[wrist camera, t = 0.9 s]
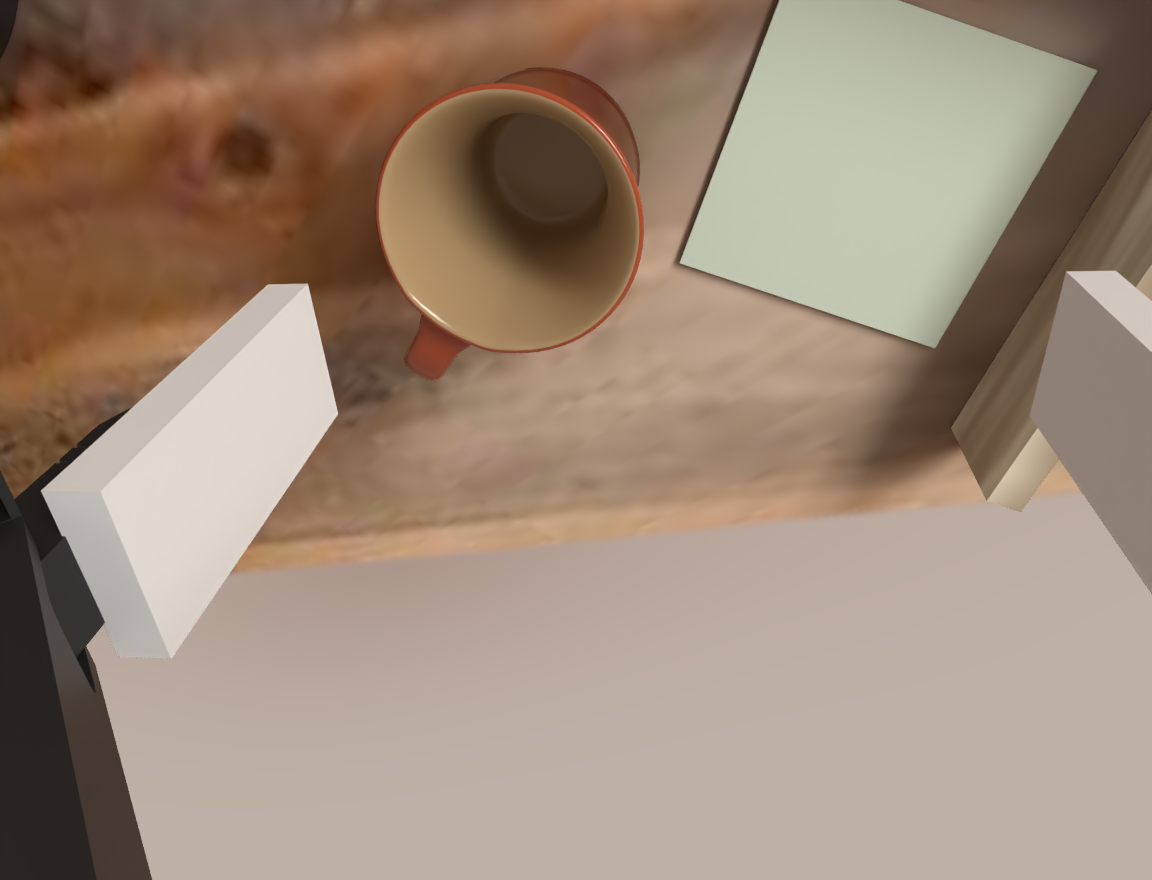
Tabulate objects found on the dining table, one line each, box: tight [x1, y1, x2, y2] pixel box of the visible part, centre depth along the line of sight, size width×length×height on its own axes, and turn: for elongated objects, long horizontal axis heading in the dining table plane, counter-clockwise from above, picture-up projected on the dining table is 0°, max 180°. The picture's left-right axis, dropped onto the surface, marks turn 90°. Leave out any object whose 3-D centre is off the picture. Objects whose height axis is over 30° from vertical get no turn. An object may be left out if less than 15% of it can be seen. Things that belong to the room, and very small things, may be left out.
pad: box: [680, 0, 1098, 348], centre depth 35 cm, size 12×12×1 cm
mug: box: [376, 68, 644, 381], centre depth 33 cm, size 12×9×10 cm
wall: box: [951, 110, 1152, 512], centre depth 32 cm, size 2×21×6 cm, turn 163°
